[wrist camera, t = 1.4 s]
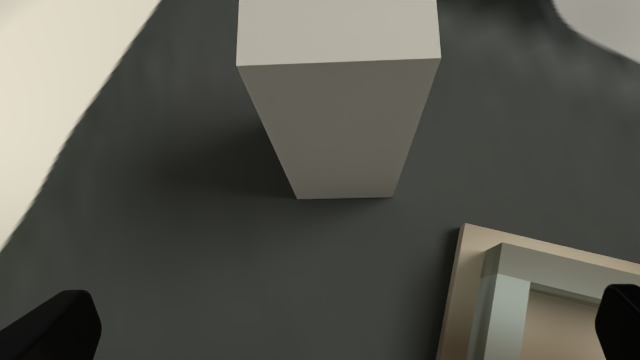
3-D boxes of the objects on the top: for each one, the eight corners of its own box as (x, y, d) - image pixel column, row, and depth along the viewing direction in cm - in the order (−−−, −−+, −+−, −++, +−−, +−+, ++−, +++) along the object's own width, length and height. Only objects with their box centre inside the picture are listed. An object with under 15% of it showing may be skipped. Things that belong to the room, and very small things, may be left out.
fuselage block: (392, 197, 22) (441, 57, 10) (297, 199, 23) (236, 65, 11) (388, 108, 24) (427, -107, 12) (297, 111, 24) (243, -96, 12)
